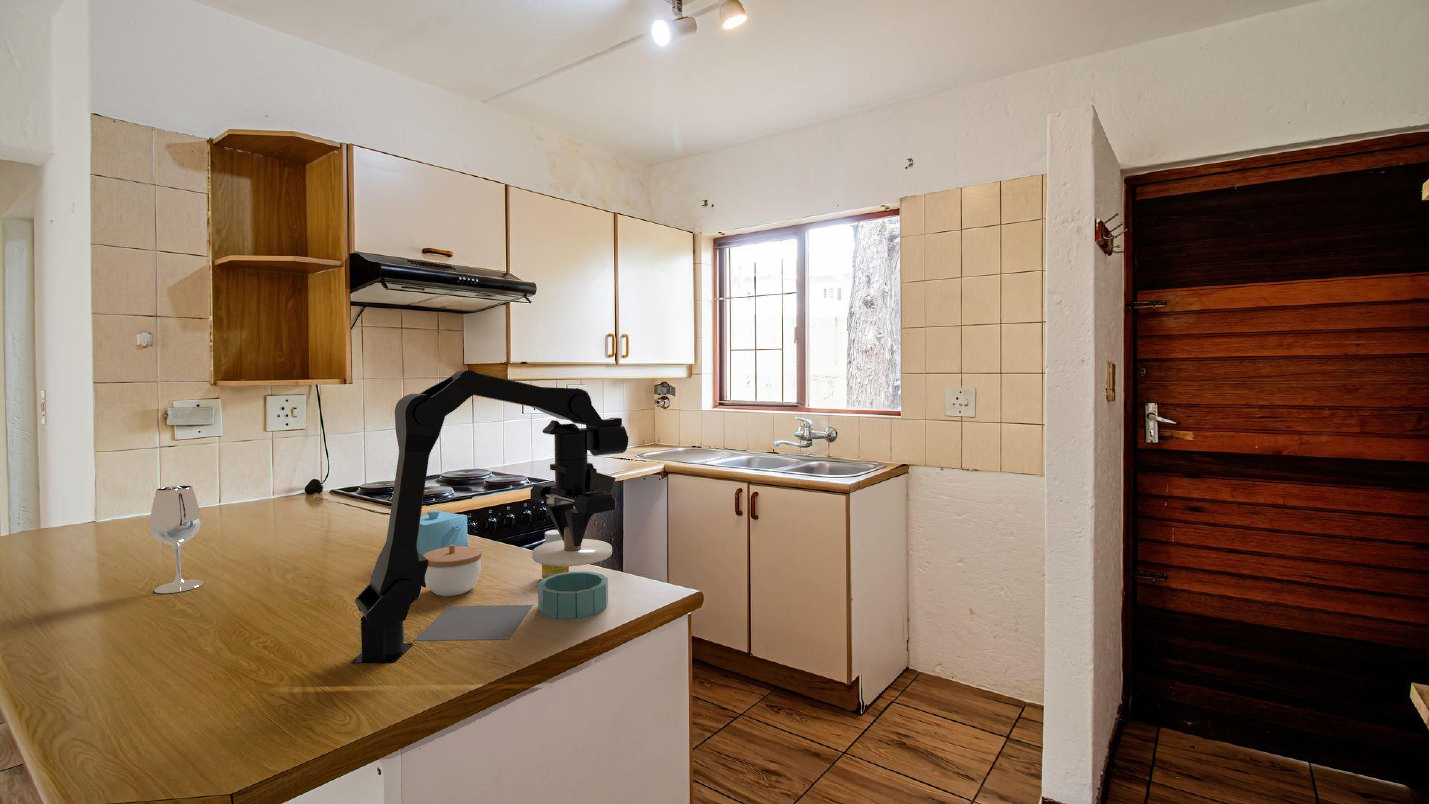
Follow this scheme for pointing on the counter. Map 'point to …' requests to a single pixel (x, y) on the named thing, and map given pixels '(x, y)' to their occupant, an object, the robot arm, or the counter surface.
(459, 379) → the robot arm
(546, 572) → the supplement bottle
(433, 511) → the teapot
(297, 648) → the counter surface
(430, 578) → the lidded jar
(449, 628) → the mat
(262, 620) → the counter surface
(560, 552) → the lid
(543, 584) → the bowl
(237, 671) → the counter surface
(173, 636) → the counter surface
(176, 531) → the wineglass
